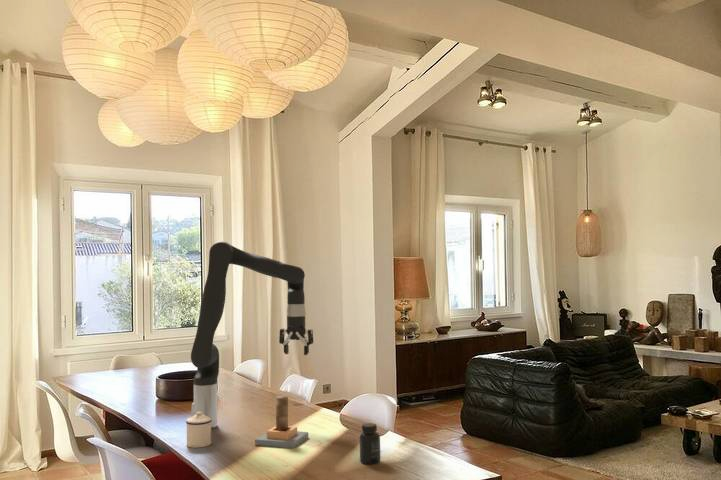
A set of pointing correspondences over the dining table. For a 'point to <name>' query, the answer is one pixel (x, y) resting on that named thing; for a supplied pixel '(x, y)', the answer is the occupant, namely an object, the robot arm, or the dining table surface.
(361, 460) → the supplement bottle
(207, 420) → the teacup with lid
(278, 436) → the collar base
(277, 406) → the walnut peg
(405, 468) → the dining table surface
